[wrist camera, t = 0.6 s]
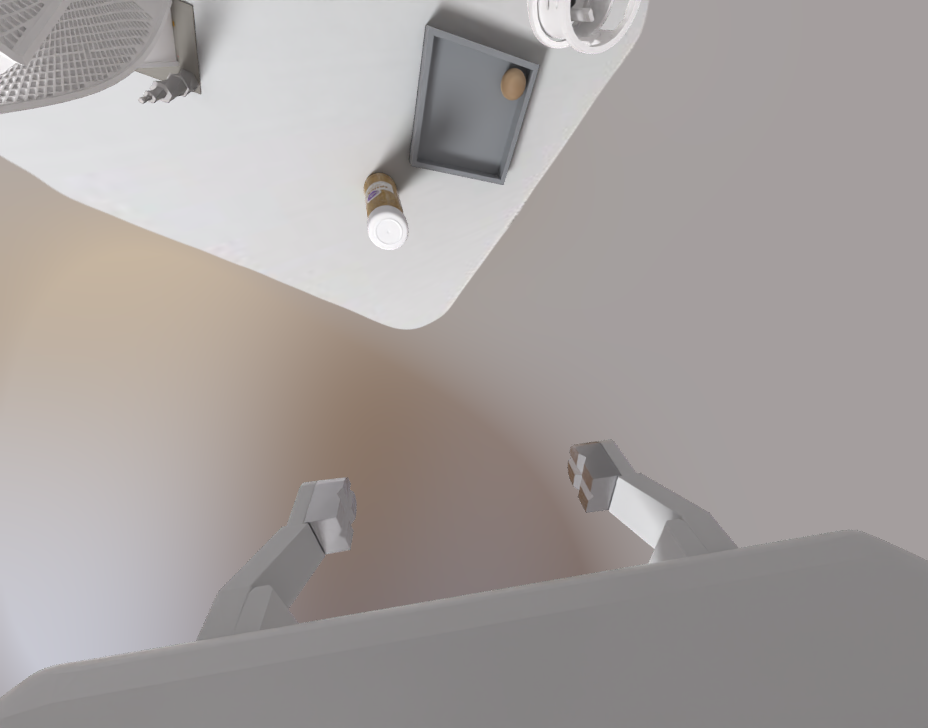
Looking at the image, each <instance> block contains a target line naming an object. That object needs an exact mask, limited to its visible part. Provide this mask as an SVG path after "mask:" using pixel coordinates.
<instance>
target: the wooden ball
mask: <svg viewBox="0 0 928 728" xmlns="http://www.w3.org/2000/svg"><path fill="white" fill-rule="evenodd" d="M525 87H526V79H525V76H524V74H523V72H522V71H521V70H520V69H518V68H511V69H509V70H507V71H506V72H505V74H504V75H503V77H502V80H501V92H502V94H503V96H504V97H505V98H506V99H508V100H516V99H518V98H519V97H521V95H522V94H523V92H524V90H525Z"/></svg>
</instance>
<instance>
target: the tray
mask: <svg viewBox="0 0 928 728" xmlns="http://www.w3.org/2000/svg"><path fill="white" fill-rule="evenodd" d="M511 68H518V69H520V70H521V71H522V72H523V74H524V76H525V79H526V87H525V90H524V92H523V94H522V95H521V97H519V98H518V99H516V100H508V99H506V98H505V97H504V96H503V94H502V92H501V80H502V77H503V75H504V74H505V72H506V71H507V70H509V69H511ZM538 69H539V65H538V64H535V63H532V62H529V61H526V60H524V59H521V58H518V57H515V56H512V55H510V54H507V53H504V52H501V51H498V50H496V49H493V48H490V47H487V46H484V45H482V44H479V43H476V42H473V41H470V40H468V39H465V38H462V37H459V36H456V35H454V34H451V33H448V32H445V31H442V30H440V29H437V28H434V27H431V26H427V25H426V26H425V34H424V42H423V50H422V58H421V66H420V75H419V83H418V91H417V99H416V107H415V115H414V124H413V132H412V140H411V148H410V156H409V161H410V164H411V166H414V167H419V168H424V169H429V170H433V171H438V172H443V173H448V174H453V175H457V176H462V177H467V178H472V179H477V180H481V181H486V182H491V183H496V184H501V185H504V182H505V178H506V175H507V172H508V168H509V165H510V162H511V158H512V155H513V152H514V148H515V145H516V142H517V138H518V135H519V132H520V128H521V125H522V122H523V119H524V115H525V112H526V109H527V105H528V102H529V99H530V95H531V92H532V89H533V85H534V82H535V79H536V75H537V72H538Z"/></svg>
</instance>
